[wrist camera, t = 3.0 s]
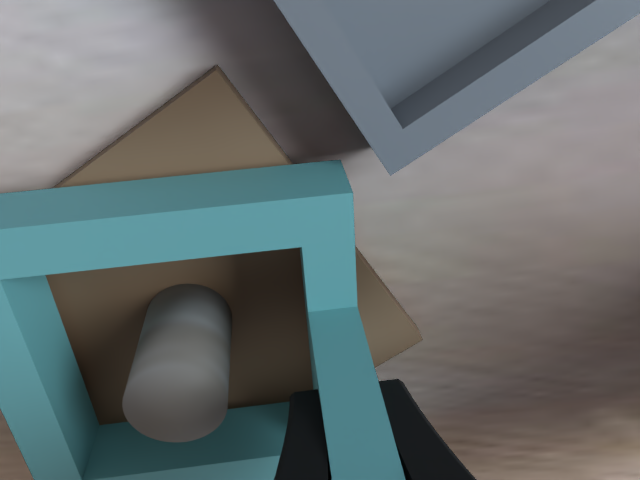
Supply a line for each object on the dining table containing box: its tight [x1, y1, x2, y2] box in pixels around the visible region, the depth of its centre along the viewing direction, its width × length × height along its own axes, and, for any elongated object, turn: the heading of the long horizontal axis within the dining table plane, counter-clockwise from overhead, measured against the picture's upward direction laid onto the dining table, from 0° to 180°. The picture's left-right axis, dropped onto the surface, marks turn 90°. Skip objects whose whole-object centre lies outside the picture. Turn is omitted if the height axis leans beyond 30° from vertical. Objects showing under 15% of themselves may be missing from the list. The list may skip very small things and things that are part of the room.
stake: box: [45, 65, 422, 442], centre depth 15 cm, size 10×10×4 cm
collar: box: [0, 160, 406, 480], centre depth 13 cm, size 9×9×7 cm
